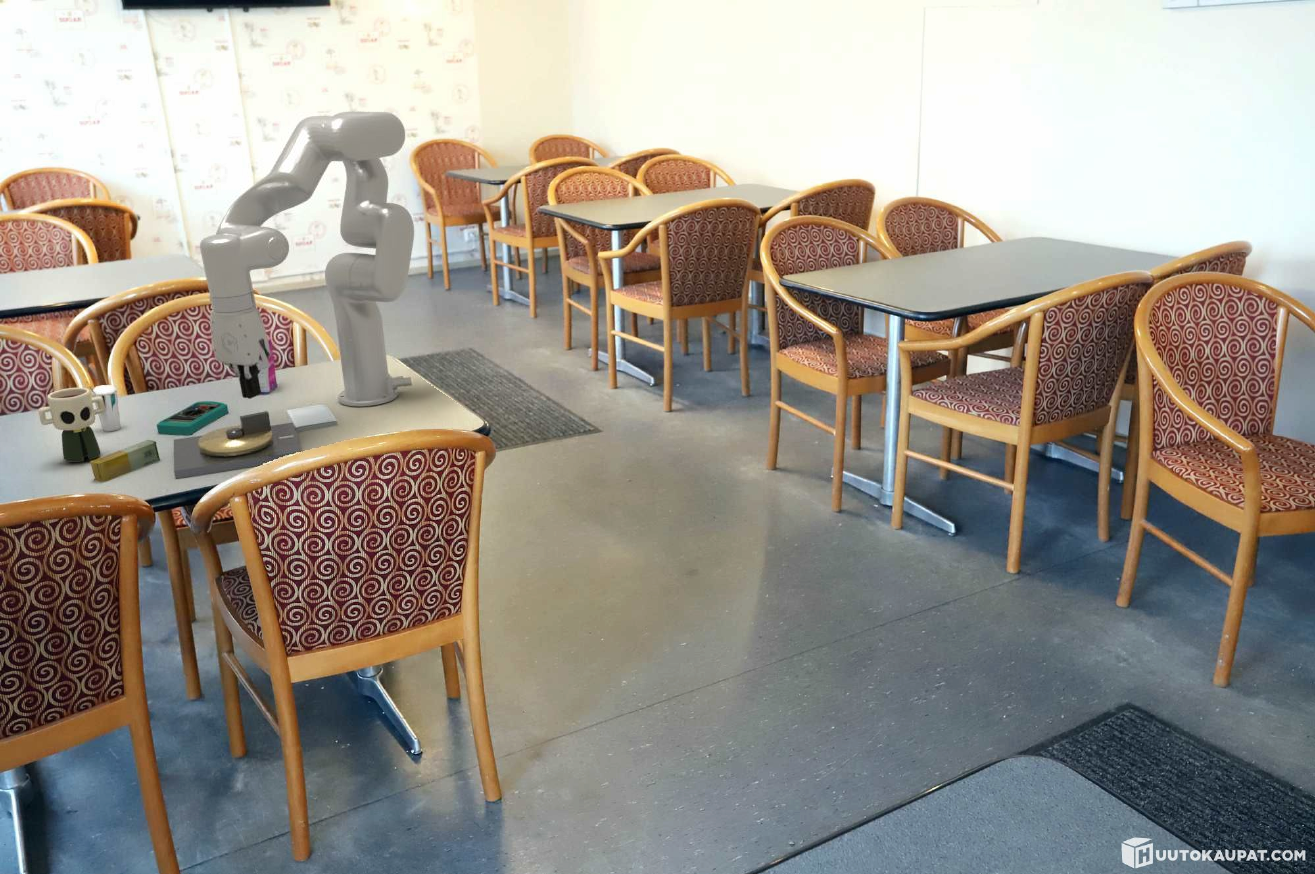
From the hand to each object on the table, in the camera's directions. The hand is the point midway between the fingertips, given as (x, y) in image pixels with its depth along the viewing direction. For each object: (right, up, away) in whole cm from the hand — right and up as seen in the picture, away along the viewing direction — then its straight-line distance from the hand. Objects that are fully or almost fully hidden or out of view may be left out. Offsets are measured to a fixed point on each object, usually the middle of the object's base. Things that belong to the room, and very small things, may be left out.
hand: (252, 395), depth 203 cm
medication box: (-20, -14, -8) cm, 26 cm away
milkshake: (-34, -7, +13) cm, 37 cm away
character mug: (-31, -12, -3) cm, 33 cm away
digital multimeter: (-18, -6, +16) cm, 25 cm away
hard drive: (+6, -5, +16) cm, 18 cm away
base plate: (-2, -11, -1) cm, 11 cm away
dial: (-2, -9, -2) cm, 10 cm away
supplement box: (-12, +2, +36) cm, 38 cm away
